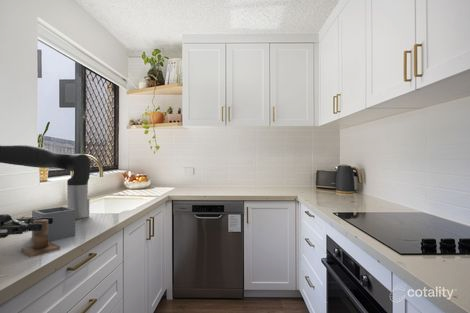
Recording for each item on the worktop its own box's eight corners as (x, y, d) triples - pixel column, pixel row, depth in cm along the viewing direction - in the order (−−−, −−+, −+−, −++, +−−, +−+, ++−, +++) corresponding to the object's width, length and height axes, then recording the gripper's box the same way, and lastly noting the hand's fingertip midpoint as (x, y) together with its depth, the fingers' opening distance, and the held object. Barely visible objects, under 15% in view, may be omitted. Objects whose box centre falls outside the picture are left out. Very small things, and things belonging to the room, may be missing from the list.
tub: (62, 230, 112) (63, 206, 112) (75, 235, 105) (75, 209, 105) (31, 237, 103) (32, 210, 103) (43, 242, 96) (43, 214, 96)
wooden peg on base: (49, 245, 94) (49, 216, 94) (59, 249, 90) (59, 220, 90) (21, 251, 88) (21, 221, 88) (30, 257, 83) (30, 225, 83)
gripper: (-25, 220, 78) (38, 217, 82) (2, 210, 91) (55, 208, 96) (-26, 245, 78) (38, 241, 82) (2, 232, 91) (55, 228, 96)
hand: (47, 223), depth 89 cm, fingers open, 8 cm apart
